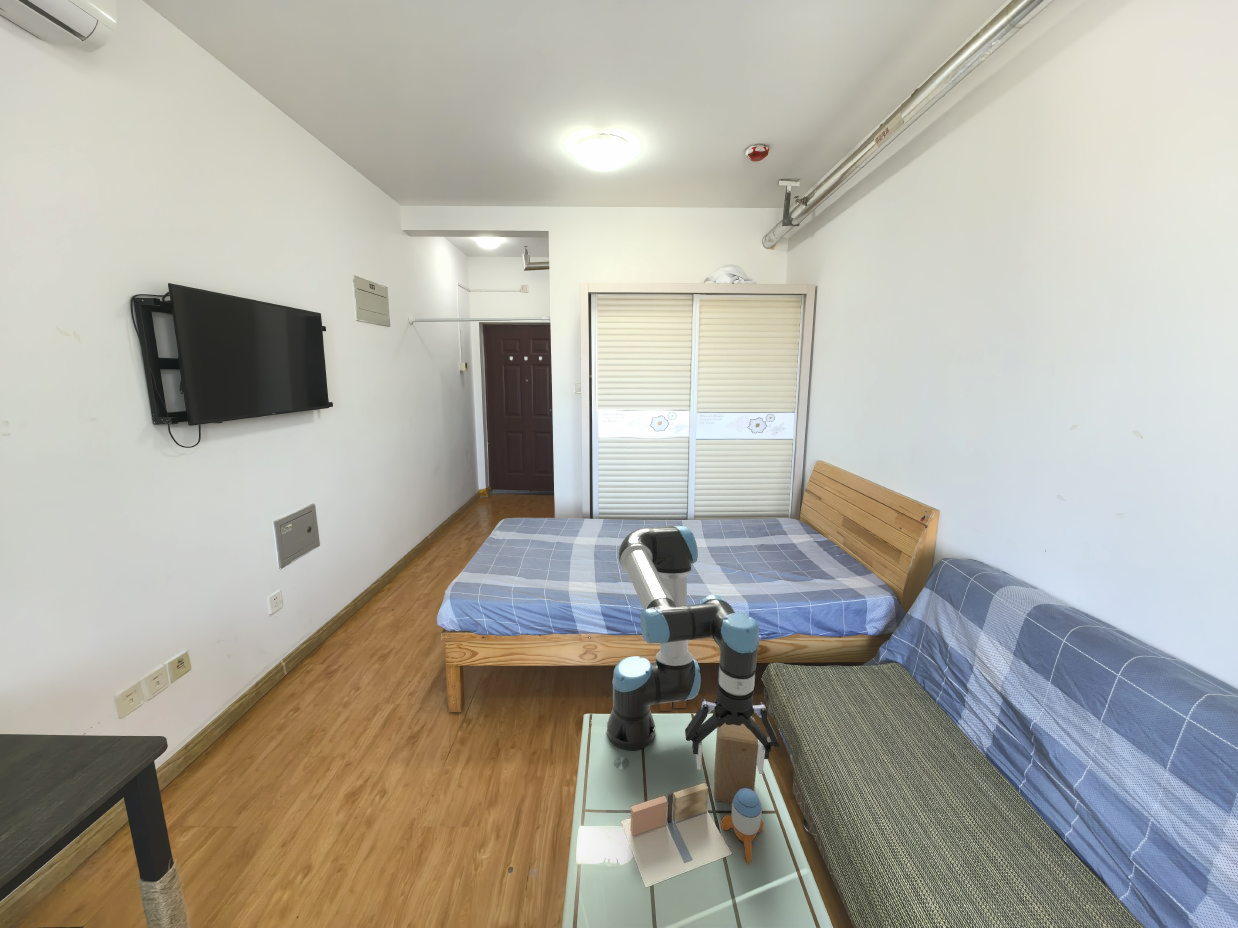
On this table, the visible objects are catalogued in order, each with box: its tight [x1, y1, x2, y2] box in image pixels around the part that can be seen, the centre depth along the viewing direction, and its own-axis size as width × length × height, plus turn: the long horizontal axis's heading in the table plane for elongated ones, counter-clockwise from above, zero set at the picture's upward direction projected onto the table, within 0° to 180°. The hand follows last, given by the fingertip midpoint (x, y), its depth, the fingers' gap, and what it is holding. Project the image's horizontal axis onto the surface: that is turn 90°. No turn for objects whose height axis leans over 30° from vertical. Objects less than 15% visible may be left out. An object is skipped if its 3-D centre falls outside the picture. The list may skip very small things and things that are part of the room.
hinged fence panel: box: [630, 795, 668, 836], centre depth 114 cm, size 9×2×7 cm, turn 109°
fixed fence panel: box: [667, 782, 709, 823], centre depth 117 cm, size 11×2×9 cm, turn 109°
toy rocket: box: [720, 788, 764, 865], centre depth 112 cm, size 10×11×15 cm
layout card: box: [620, 805, 733, 888], centre depth 112 cm, size 16×22×1 cm
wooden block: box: [713, 716, 759, 805], centre depth 124 cm, size 10×10×20 cm
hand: (728, 766), depth 104 cm, fingers open, 13 cm apart
